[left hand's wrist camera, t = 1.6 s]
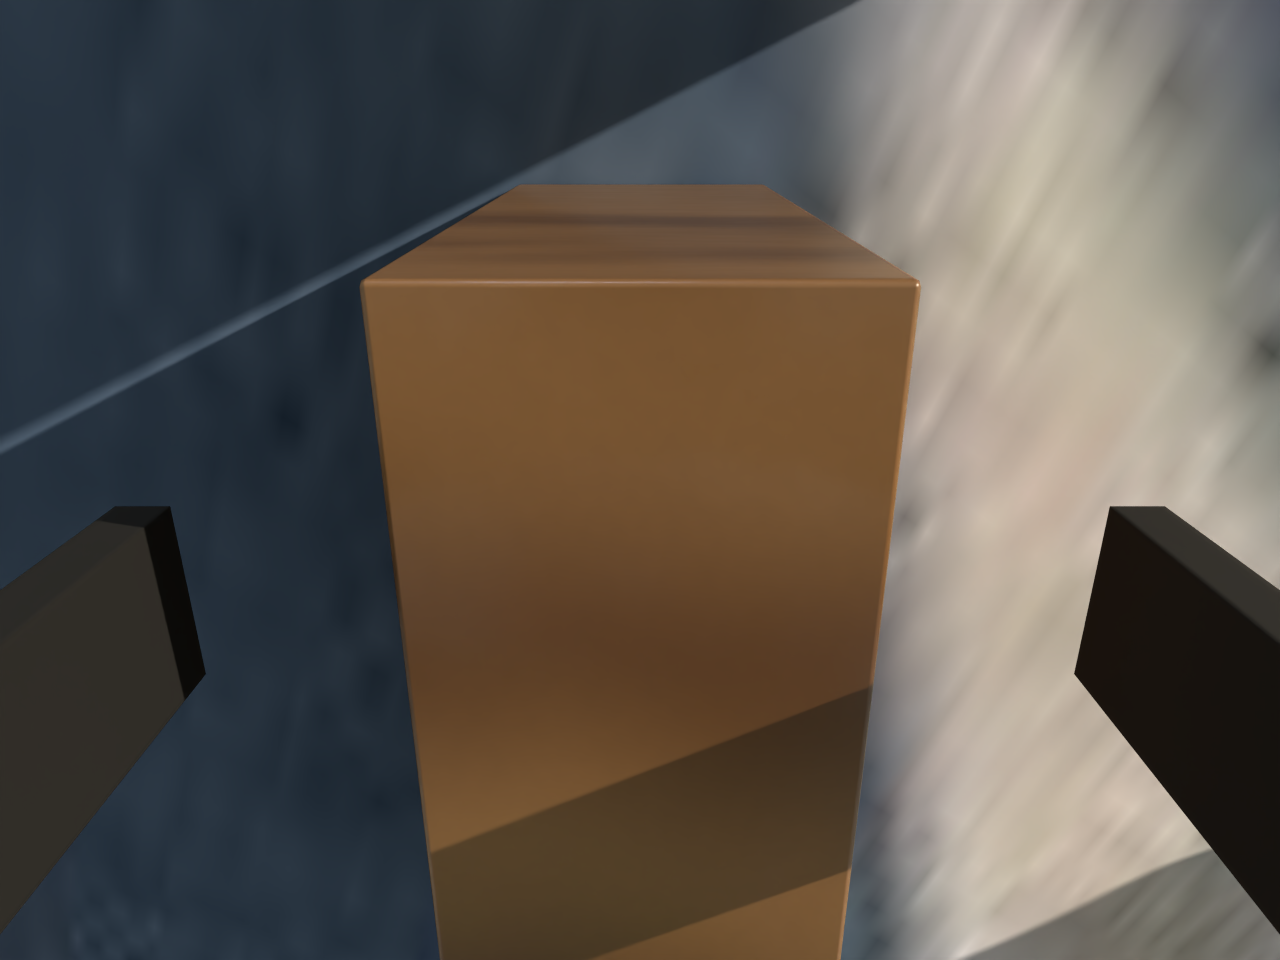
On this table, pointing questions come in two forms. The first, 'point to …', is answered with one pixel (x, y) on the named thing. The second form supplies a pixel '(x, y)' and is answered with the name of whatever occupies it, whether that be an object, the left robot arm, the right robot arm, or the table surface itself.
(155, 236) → the table surface
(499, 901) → the box
